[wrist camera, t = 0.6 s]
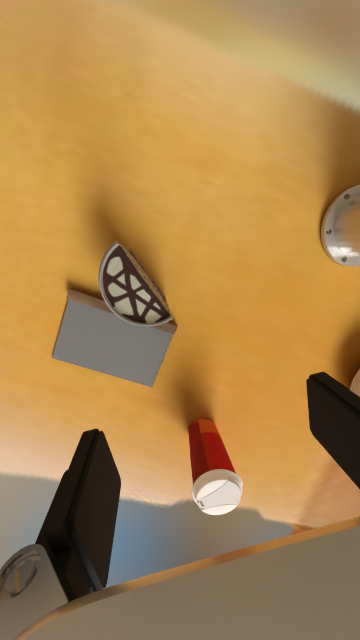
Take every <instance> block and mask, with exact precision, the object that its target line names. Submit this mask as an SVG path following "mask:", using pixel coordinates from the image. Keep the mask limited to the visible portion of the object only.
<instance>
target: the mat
mask: <svg viewBox="0 0 360 640" xmlns="http://www.w3.org/2000/svg"><path fill="white" fill-rule="evenodd" d="M172 336H173V334H171V333H168V332H165V331H162V330H159V329H156V328H153V327H150V326H138V325H134V324H131V323H128V322H126V321H124V320H122V319H121V318H119V317H118V316H117V315H115V314H112V313H109V312H106V311H103V310H100V309H97V308H94V307H91V306H88V305H85V304H82V303H79V302H77V301H74V300H71V299H68V303H67V306H66V310H65V314H64V317H63V321H62V324H61V328H60V331H59V335H58V339H57V342H56V346H55V349H54V353H53V356H52V358H54V359H58V360H61V361H65V362H68V363H71V364H75V365H78V366H82V367H85V368H88V369H92V370H95V371H99V372H102V373H105V374H109V375H112V376H116V377H119V378H122V379H126V380H129V381H133V382H136V383H139V384H143V385H146V386H150V387H152V386H153V384H154V381H155V379H156V376H157V374H158V371H159V369H160V366H161V364H162V361H163V358H164V356H165V353H166V351H167V348H168V346H169V343H170V341H171V338H172Z"/></svg>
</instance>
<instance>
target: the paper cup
mask: <svg viewBox="0 0 360 640" xmlns="http://www.w3.org/2000/svg"><path fill="white" fill-rule="evenodd" d="M189 443H190V459H191V468H192V478H193V487H192V497H193V499H194V501H195V502H196V503H197V504H198V506H199V507H200V509H201V510H202V511H203V512H205V513H207V514H211V515H220V514H225V513H227V512H229V511H231V510H233V509H234V508H235V507H236V506H237V505H238V503H239V501H240V499H241V494H242V485H243V483H242V480H241V478H240V476H239V475H237V474H236V473H235V470H234V468H233V466H232V463H231V461H230V458H229V456H228V454H227V451H226V449H225V446H224V444H223V442H222V439H221V437H220V434H219V432H218V430H217V428H216V426H215V424H214V423H213V422H212V421H211V420H209V419H204V418H203V419H198V420H196V421H194V422H193V423H192V424H191V426H190V428H189Z"/></svg>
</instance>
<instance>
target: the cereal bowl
mask: <svg viewBox="0 0 360 640" xmlns="http://www.w3.org/2000/svg"><path fill="white" fill-rule="evenodd" d="M350 390H351V391H352V392H353V393H355V394H356V395H358V396H359V397H360V369H359V370H358V372H357V373H356V375H355V376H354V378H353V381H352V383H351V387H350Z"/></svg>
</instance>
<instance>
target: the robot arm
mask: <svg viewBox="0 0 360 640" xmlns="http://www.w3.org/2000/svg"><path fill="white" fill-rule="evenodd" d="M321 241H322V245H323V248H324V250H325V252H326V253H327V255H328V256H329V257H330V258H331V259H332V260H333V261H334V262H336V263H338V264H340V265H344V266H352V267H353V266H360V184H359V185H356V186H353V187H351V188H349V189H347V190H345V191H344V192H342V193H341V194H339V195H338V196H337V197H336V198H335V199H334V200H333V202H332V203H331V204H330V206H329V207H328V209H327V211H326V213H325V215H324V218H323V221H322V226H321ZM307 396H308V409H309V423H310V430H311V432H312V434H313V436H314V437H315V438H316V439H317V440H318V441H319V443H320V444H321V445H322V446H323V447H324V448H325V450H326V451H327V452H328V453H329V454H330V455H331V456H332V458H333V459H334V460H335V461H336V462H337V463H338V465H339V466H340V467H341V468H342V469H343V470H344V471H345V473H346V474H347V475H348V476H349V477H350V478H351V480H352V481H353V482H354V483H355V484H356V485H357V486H358V488H359V489H360V397H359V396H358V395H356V394H355V393H353V392H352V391H351V390H349V389H348V388H346V387H345V386H344V385H342V384H341V383H339V382H338V381H336V380H335V379H334V378H332V377H331V376H329V375H328V374H327V373H325V372H320V373H316V374H312V375H310V376H309V379H307ZM120 489H121V479H120V475H119V473H118V470H117V467H116V465H115V462H114V459H113V457H112V454H111V451H110V449H109V446H108V443H107V440H106V438H105V435H104V433H103V431H99V430H98V429H93V430H89V431H85V432H83V434H82V436H81V439H80V441H79V444H78V446H77V449H76V451H75V454H74V456H73V459H72V461H71V464H70V466H69V469H68V470H67V471H65V473H64V475H63V477H62V479H61V482H60V484H59V487H58V489H57V491H56V494H55V496H54V499H53V501H52V504H51V506H50V508H49V511H48V513H47V516H46V518H45V521H44V523H43V526H42V528H41V531H40V533H39V535H38V538H37V540H36V543H35V544H31V545H28V546H26V547H24V548H22V549H20V550H19V551H18V552H17V553H15V554H14V555H13V556H12V557H11V558H10V559H9V560H8V561H7V562H6V563H5V564H4V565H3V567H2V568H1V569H0V640H360V517H357V518H353V519H349V520H345V521H342V522H338V523H334V524H331V525H327V526H323V527H319V528H316V529H312V530H308V531H305V532H301V533H297V534H294V535H290V536H286V537H283V538H279V539H276V540H272V541H268V542H265V543H261V544H257V545H254V546H250V547H247V548H243V549H240V550H236V551H232V552H229V553H225V554H222V555H218V556H214V557H211V558H207V559H204V560H200V561H197V562H193V563H190V564H186V565H182V566H179V567H175V568H172V569H169V570H165V571H162V572H158V573H154V574H151V575H147V576H144V577H141V578H137V579H134V580H131V581H128V582H125V583H121V584H118V585H115V586H112V587H108V588H105V587H106V584H107V579H108V572H109V565H110V558H111V551H112V544H113V538H114V530H115V524H116V516H117V509H118V503H119V496H120ZM103 588H105V589H103Z"/></svg>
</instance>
